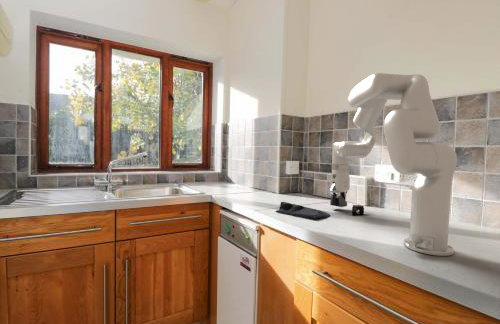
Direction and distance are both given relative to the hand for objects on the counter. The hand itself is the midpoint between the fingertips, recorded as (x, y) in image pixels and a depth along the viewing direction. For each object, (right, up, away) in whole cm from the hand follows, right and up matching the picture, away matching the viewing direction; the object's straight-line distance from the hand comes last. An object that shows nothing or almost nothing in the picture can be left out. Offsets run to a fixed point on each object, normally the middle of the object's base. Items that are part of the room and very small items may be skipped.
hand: (338, 204), depth 130 cm
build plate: (+6, -4, -8) cm, 11 cm away
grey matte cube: (0, 0, 0) cm, 0 cm away
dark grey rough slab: (-19, -3, -9) cm, 22 cm away
